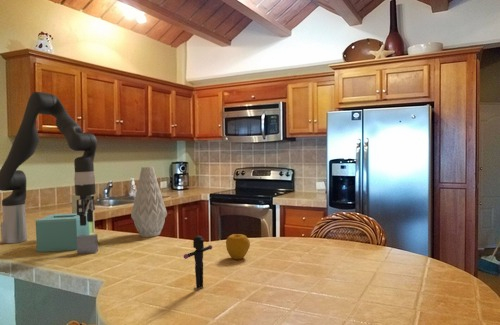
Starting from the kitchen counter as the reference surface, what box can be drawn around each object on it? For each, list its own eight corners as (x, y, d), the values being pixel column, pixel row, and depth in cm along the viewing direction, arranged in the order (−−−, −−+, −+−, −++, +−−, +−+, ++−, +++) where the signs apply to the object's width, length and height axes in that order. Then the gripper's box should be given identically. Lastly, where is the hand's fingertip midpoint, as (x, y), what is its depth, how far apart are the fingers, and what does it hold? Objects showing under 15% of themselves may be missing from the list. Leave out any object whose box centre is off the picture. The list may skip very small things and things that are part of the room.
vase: (125, 236, 181) (122, 167, 181) (155, 230, 193) (152, 166, 193) (144, 240, 170) (141, 167, 169) (174, 234, 182) (172, 166, 181)
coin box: (37, 252, 156) (35, 220, 155) (53, 242, 171) (51, 214, 171) (77, 249, 157) (76, 218, 157) (89, 241, 173) (88, 212, 173)
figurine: (207, 281, 113) (205, 231, 113) (217, 283, 111) (216, 232, 111) (180, 294, 103) (178, 239, 102) (191, 297, 101) (189, 241, 100)
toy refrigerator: (86, 238, 180) (84, 194, 179) (72, 237, 181) (70, 194, 181) (96, 234, 188) (94, 192, 187) (83, 234, 189) (81, 192, 189)
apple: (253, 255, 140) (252, 231, 139) (245, 262, 132) (244, 236, 131) (231, 254, 142) (230, 230, 142) (222, 260, 134) (221, 235, 134)
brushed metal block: (77, 254, 150) (76, 236, 150) (80, 252, 153) (79, 235, 153) (95, 253, 151) (95, 235, 151) (98, 251, 154) (97, 234, 154)
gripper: (81, 182, 158) (83, 221, 158) (68, 184, 144) (70, 227, 144) (99, 181, 159) (101, 220, 159) (89, 184, 145) (91, 226, 145)
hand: (86, 223), depth 152 cm, fingers open, 8 cm apart
